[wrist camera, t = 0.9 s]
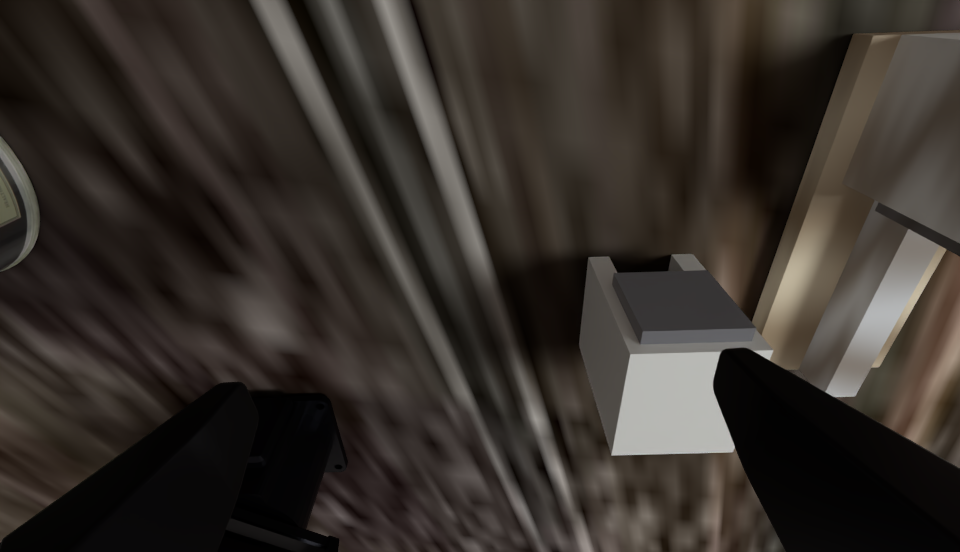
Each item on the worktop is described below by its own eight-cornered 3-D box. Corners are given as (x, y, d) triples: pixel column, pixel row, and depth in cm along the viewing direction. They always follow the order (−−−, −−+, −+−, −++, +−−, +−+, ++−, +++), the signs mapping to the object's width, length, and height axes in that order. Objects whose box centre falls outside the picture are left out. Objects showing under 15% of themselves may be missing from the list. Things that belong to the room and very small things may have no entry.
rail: (865, 354, 25) (985, 465, 19) (738, 358, 25) (819, 469, 19) (1042, 26, 17) (1352, 43, 11) (853, 33, 17) (1057, 53, 11)
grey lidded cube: (670, 342, 25) (732, 452, 19) (578, 345, 25) (611, 455, 19) (694, 242, 22) (778, 336, 16) (589, 246, 22) (632, 341, 16)
